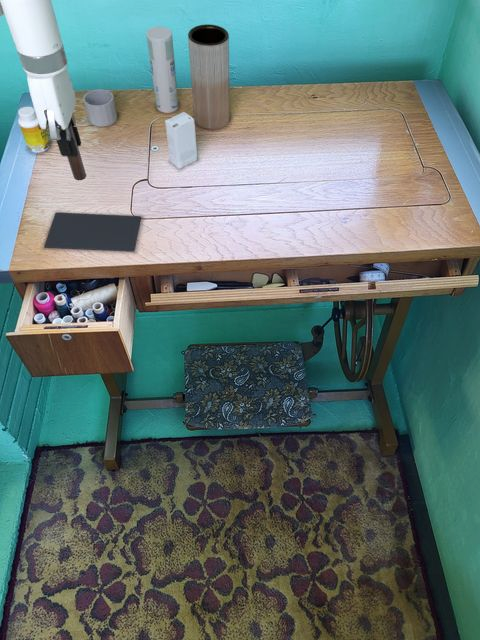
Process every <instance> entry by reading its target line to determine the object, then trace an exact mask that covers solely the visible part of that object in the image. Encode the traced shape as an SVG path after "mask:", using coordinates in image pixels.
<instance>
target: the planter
mask: <svg viewBox="0 0 480 640" xmlns="http://www.w3.org/2000/svg"><path fill="white" fill-rule="evenodd" d="M187 43H188V57H189V71H190V82H191V97H192V98H191V99H192V109H193V110H192V111H193V119H194V122H195V124H196V125H197V126H199V127H201V128H202V129H206V130H218V129H221V128H223V127H226V126H227V125H228V124H229V123H230V118H231V101H230V98H231V97H230V95H231V94H230V90H231V89H230V34H229V32H228V31H227V29H226V28H224V27H222V26H219V25H216V24H211V23H210V24H208V23H207V24H200V25H196V26H194V27H192V28H191V29H189V31H188V33H187Z"/></svg>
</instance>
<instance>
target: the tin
mask: <svg viewBox="0 0 480 640" xmlns="http://www.w3.org/2000/svg"><path fill="white" fill-rule="evenodd" d="M82 100H83V104H84V108H85V112H86V115H87V120H88V122H89V124H91V125H93V126H95V127H101V128H102V127H108V126H111V125H113V124H115V123H116V122H117V121H118V113H117V107H116V102H115V98H114V95H113V93H112V92H111V91H110V90H107V89H99V88H98V89H93V90H89V91H87V92H86V93H85V94H84V95H83V98H82Z"/></svg>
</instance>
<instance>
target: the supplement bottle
mask: <svg viewBox="0 0 480 640" xmlns="http://www.w3.org/2000/svg"><path fill="white" fill-rule="evenodd" d="M17 113H18V119H17V123H18V126H19V129H20V131H21V134H22V136H23V139H24V143H25V145H26V147H27V149H28V150H29V151H30V152H31V153H34V154H41V153H44V152H46V151H47V150H48V149H49V148H50V141H49V138H48V135H47V131H46V129H41V127H40V125H39V122H38V119H37V116H36V113H35V109H34V107H32V106H23V107H20V108H19V109H18V111H17Z"/></svg>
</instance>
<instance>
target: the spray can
mask: <svg viewBox="0 0 480 640" xmlns="http://www.w3.org/2000/svg"><path fill="white" fill-rule="evenodd" d="M145 35H146V36H145V37H146V43H147V51H148V56H149V63H150V73H151V78H152V84H153V85H152V86H153V92H154V98H155V106H156V109H157V110H158V111H159V112H161V113H165V114H169V113H174V112H175V111H177V110H178V108H179V95H178V86H177V72H176V62H175V51H174V50H175V49H174V40H173V32H172V30H171V29H170V28H168V27H165V26H153V27H150V28H148V29H147V30H146V33H145Z"/></svg>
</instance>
